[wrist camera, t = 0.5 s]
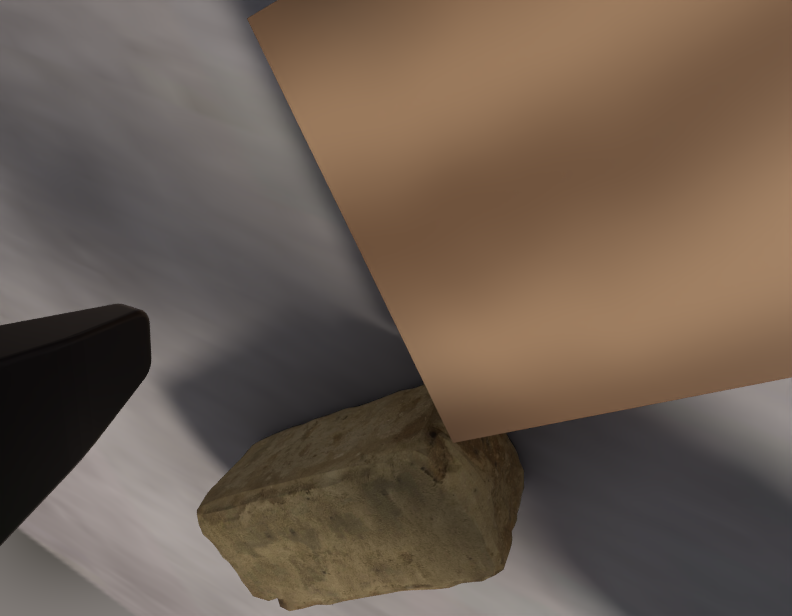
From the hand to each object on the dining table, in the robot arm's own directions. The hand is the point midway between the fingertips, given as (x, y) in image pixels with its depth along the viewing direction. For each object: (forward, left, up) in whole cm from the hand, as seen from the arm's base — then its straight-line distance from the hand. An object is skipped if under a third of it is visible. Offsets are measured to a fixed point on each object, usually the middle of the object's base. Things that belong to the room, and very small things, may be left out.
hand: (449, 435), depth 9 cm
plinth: (+1, -1, -13) cm, 13 cm away
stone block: (-9, +11, -14) cm, 19 cm away
